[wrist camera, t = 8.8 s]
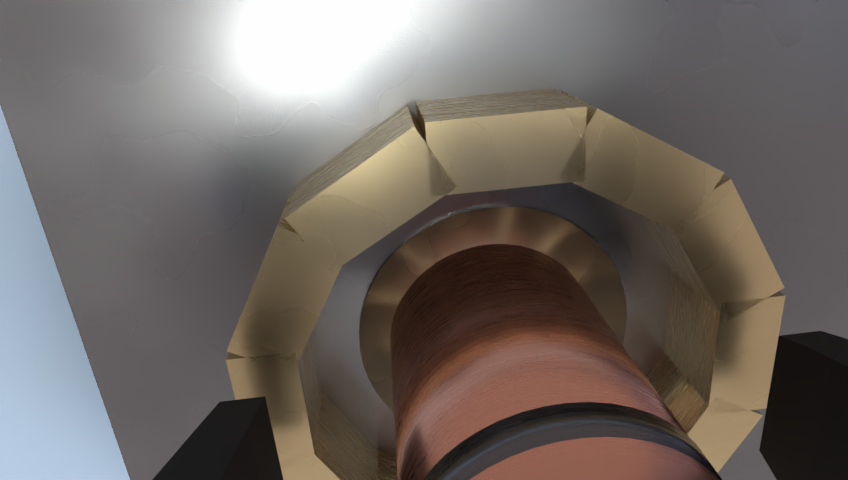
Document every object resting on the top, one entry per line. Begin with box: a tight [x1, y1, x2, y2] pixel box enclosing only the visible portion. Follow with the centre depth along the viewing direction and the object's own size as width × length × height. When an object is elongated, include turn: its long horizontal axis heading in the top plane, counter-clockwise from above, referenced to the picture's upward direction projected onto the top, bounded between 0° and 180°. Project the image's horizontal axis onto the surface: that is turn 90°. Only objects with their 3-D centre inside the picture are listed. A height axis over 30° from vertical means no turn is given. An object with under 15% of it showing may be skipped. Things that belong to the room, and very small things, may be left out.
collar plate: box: [0, 0, 848, 480], centre depth 11 cm, size 18×14×2 cm
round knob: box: [390, 244, 722, 480], centre depth 8 cm, size 4×4×5 cm
